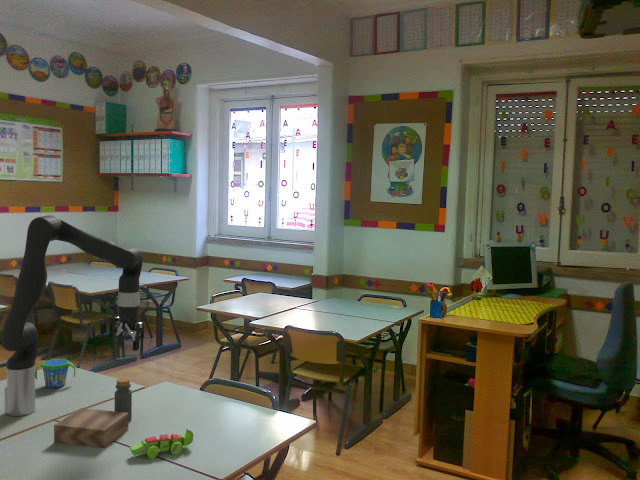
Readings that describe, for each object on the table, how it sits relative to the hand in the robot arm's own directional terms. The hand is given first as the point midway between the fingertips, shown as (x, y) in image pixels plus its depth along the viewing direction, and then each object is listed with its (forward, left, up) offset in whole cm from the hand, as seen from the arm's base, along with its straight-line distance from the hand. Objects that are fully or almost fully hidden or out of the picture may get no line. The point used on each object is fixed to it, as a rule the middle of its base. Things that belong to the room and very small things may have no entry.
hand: (128, 348), depth 199 cm
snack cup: (-47, +25, -27) cm, 60 cm away
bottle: (-1, -1, -27) cm, 27 cm away
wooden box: (-4, -16, -27) cm, 31 cm away
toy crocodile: (+24, -21, -27) cm, 41 cm away
